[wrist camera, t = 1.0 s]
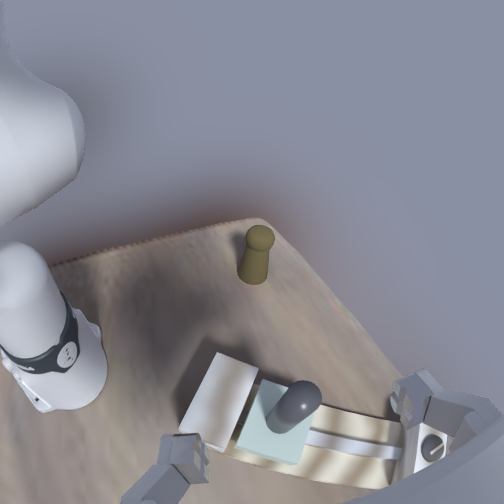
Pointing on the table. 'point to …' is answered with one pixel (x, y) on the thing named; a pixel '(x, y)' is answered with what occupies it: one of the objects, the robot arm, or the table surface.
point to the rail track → (329, 459)
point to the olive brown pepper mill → (256, 255)
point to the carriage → (279, 421)
